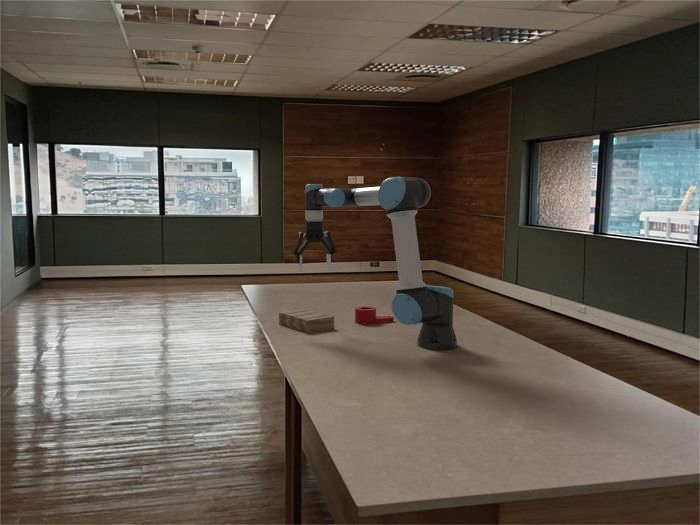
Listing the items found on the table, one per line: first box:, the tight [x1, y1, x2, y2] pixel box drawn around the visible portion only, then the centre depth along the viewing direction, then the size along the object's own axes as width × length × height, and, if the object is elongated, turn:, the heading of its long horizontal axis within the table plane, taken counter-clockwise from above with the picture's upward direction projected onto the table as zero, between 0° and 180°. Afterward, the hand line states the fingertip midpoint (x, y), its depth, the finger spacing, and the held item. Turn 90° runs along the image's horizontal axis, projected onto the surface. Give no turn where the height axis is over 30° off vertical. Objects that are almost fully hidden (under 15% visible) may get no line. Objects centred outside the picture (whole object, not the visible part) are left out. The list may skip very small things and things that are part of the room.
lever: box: [354, 306, 395, 325], centre depth 283 cm, size 18×9×7 cm, turn 105°
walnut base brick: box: [278, 308, 335, 333], centre depth 272 cm, size 22×14×6 cm, turn 38°
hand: (314, 270), depth 270 cm, fingers open, 13 cm apart
